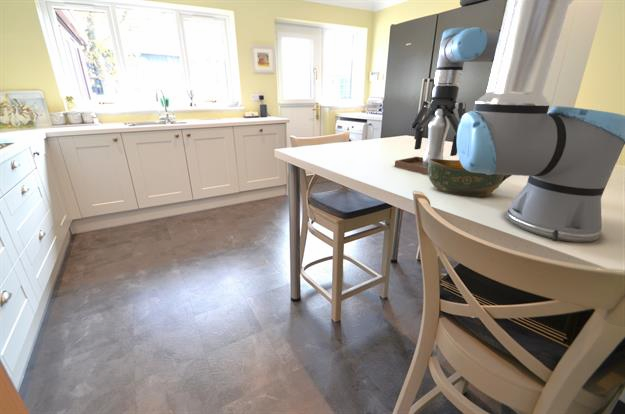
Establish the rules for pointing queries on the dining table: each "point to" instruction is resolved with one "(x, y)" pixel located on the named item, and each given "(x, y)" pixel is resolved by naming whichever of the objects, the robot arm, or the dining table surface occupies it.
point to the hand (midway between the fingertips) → (434, 152)
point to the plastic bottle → (436, 137)
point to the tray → (412, 165)
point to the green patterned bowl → (461, 179)
